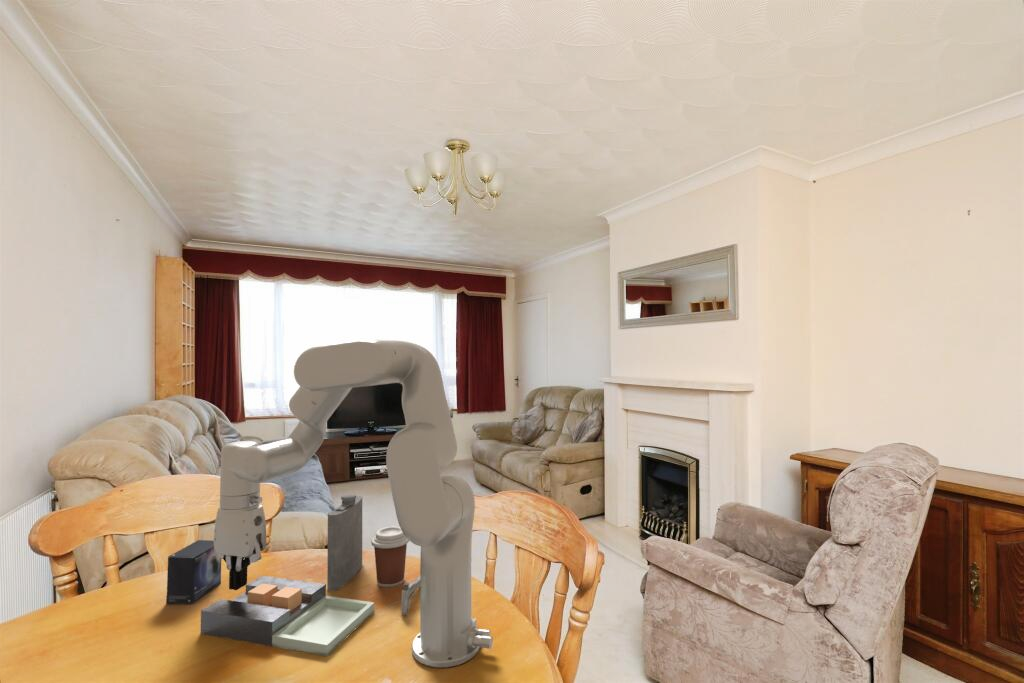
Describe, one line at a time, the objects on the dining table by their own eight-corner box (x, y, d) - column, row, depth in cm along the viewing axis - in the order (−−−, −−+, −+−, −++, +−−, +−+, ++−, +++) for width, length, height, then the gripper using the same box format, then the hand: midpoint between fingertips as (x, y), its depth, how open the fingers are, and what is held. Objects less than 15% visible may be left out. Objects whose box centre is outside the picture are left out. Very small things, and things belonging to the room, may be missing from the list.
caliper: (406, 617, 103) (406, 587, 103) (400, 617, 103) (401, 587, 103) (429, 574, 123) (429, 549, 123) (425, 574, 123) (425, 549, 123)
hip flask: (352, 562, 130) (352, 486, 131) (367, 562, 130) (367, 486, 131) (325, 590, 114) (325, 504, 115) (341, 591, 114) (342, 504, 115)
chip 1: (277, 599, 104) (277, 585, 104) (263, 609, 100) (263, 594, 100) (262, 597, 105) (262, 583, 105) (247, 606, 101) (247, 592, 101)
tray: (374, 612, 104) (374, 602, 104) (327, 656, 89) (327, 645, 89) (325, 604, 108) (325, 595, 108) (272, 646, 92) (272, 635, 92)
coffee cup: (363, 587, 116) (363, 536, 116) (382, 571, 124) (382, 523, 125) (399, 591, 113) (399, 539, 114) (415, 574, 122) (415, 526, 123)
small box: (193, 605, 108) (194, 557, 108) (164, 605, 108) (165, 556, 109) (223, 583, 119) (223, 539, 119) (196, 583, 119) (197, 539, 119)
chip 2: (301, 603, 102) (301, 588, 102) (288, 613, 98) (288, 597, 99) (285, 601, 103) (285, 586, 103) (271, 610, 99) (271, 595, 100)
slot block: (325, 604, 108) (325, 584, 108) (272, 646, 92) (272, 622, 92) (262, 595, 112) (262, 575, 112) (200, 633, 97) (200, 610, 97)
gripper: (281, 498, 106) (280, 583, 106) (226, 492, 110) (224, 575, 110) (255, 508, 99) (253, 600, 99) (197, 502, 103) (194, 590, 103)
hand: (238, 586), depth 104 cm, fingers closed
